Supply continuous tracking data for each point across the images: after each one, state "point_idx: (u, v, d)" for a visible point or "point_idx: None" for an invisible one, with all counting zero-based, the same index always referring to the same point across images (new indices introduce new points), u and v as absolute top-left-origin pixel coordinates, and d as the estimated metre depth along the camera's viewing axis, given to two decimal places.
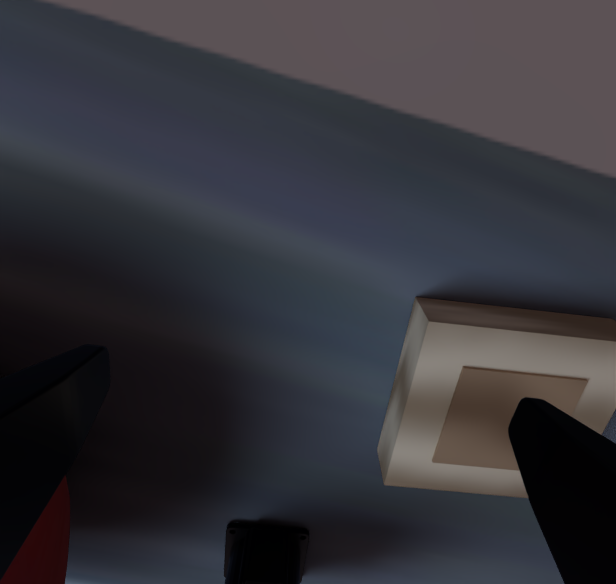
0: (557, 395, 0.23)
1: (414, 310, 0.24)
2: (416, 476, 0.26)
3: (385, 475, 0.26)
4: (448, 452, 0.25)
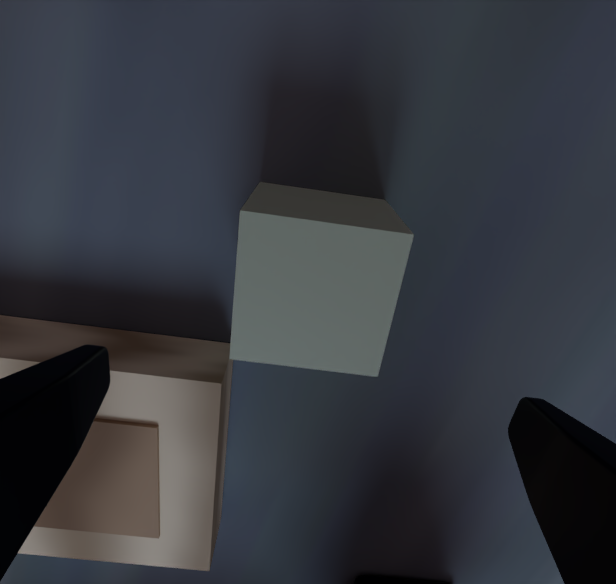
0: None
1: None
2: (190, 545, 0.20)
3: None
4: (139, 526, 0.19)
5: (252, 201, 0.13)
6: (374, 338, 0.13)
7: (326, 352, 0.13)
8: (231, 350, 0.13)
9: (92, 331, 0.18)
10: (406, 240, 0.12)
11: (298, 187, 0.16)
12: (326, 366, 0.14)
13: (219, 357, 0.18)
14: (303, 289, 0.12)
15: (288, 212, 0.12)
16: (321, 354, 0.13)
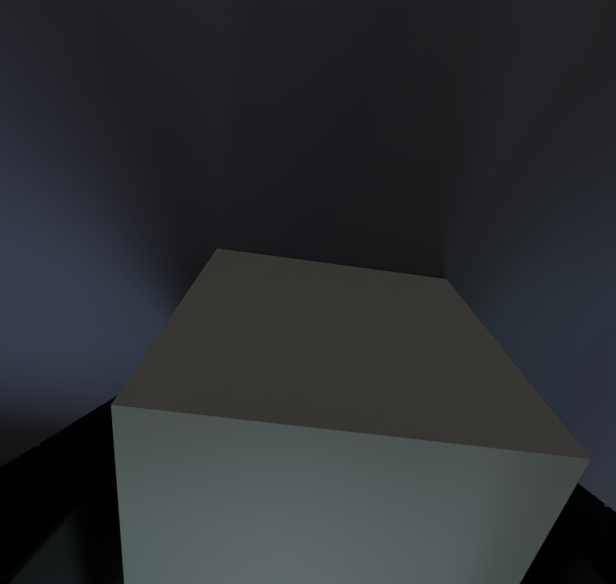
0: None
1: None
2: None
3: None
4: None
5: (170, 338, 0.05)
6: None
7: None
8: None
9: None
10: (568, 472, 0.04)
11: (288, 259, 0.09)
12: None
13: None
14: (291, 561, 0.05)
15: (251, 390, 0.05)
16: None
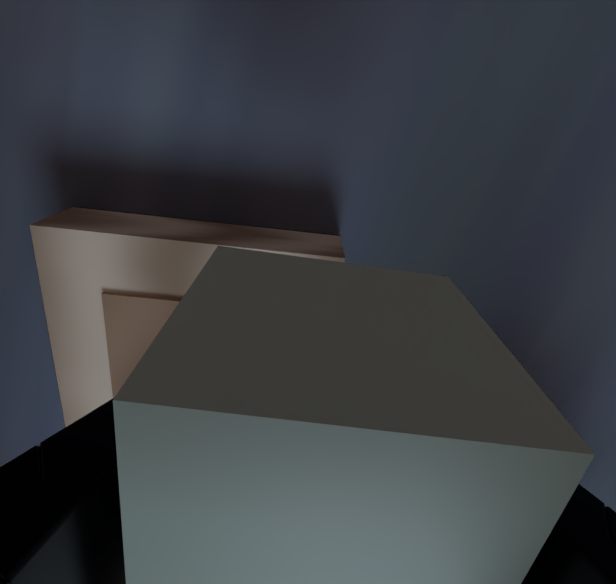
0: (131, 325, 0.17)
1: None
2: None
3: None
4: None
5: (172, 334, 0.05)
6: None
7: None
8: None
9: (199, 223, 0.18)
10: (572, 468, 0.04)
11: (289, 257, 0.09)
12: None
13: (331, 243, 0.17)
14: (293, 558, 0.05)
15: (255, 385, 0.05)
16: None
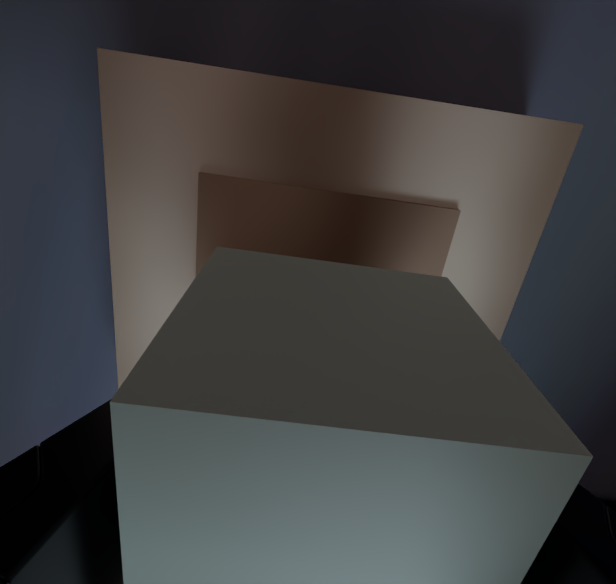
0: (237, 229, 0.11)
1: None
2: None
3: None
4: None
5: (169, 336, 0.05)
6: None
7: None
8: None
9: None
10: (570, 470, 0.04)
11: (288, 258, 0.09)
12: None
13: None
14: (290, 560, 0.05)
15: (252, 387, 0.05)
16: None
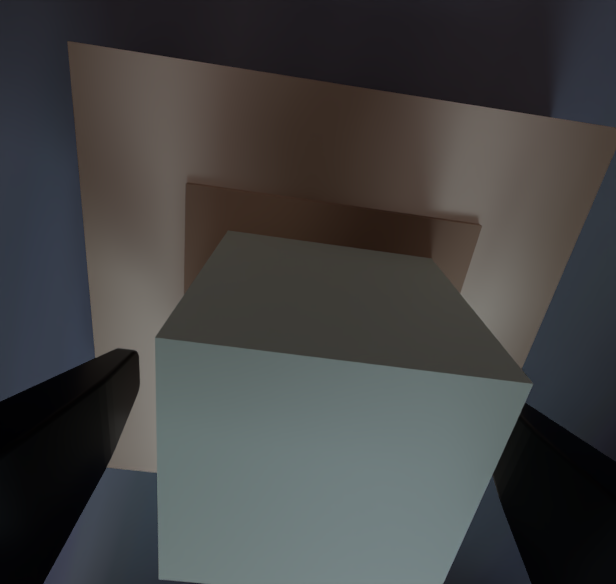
0: None
1: None
2: None
3: None
4: None
5: (195, 295, 0.06)
6: (432, 551, 0.07)
7: (340, 571, 0.07)
8: (161, 567, 0.07)
9: None
10: (516, 395, 0.05)
11: (290, 240, 0.10)
12: None
13: None
14: (294, 477, 0.06)
15: (264, 331, 0.06)
16: (330, 573, 0.07)
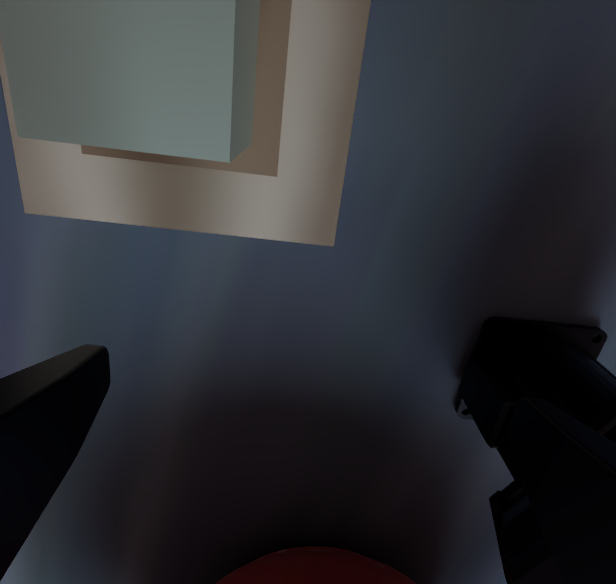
0: None
1: None
2: (314, 196, 0.15)
3: None
4: (253, 152, 0.15)
5: None
6: (213, 94, 0.09)
7: (151, 121, 0.10)
8: (17, 122, 0.10)
9: None
10: None
11: None
12: (155, 145, 0.10)
13: None
14: (95, 7, 0.09)
15: None
16: (144, 124, 0.10)
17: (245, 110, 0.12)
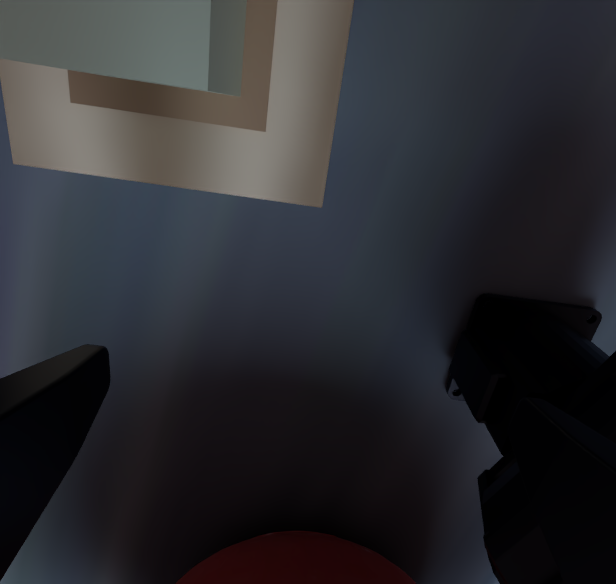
0: None
1: None
2: (302, 154, 0.15)
3: (305, 204, 0.16)
4: (241, 105, 0.15)
5: None
6: (191, 16, 0.09)
7: (128, 44, 0.09)
8: None
9: None
10: None
11: None
12: (133, 70, 0.10)
13: None
14: None
15: None
16: (122, 47, 0.09)
17: (230, 51, 0.12)
